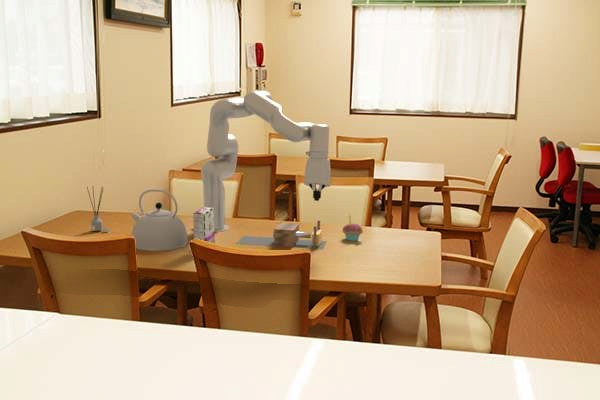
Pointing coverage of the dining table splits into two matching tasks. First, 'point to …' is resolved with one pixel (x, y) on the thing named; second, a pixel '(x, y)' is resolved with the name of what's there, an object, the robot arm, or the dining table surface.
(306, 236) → the pin
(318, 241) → the beige small block
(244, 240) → the base mat
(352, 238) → the cupcake
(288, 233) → the hitch block
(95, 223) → the reed diffuser
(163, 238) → the kettle
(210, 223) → the candy bar box
